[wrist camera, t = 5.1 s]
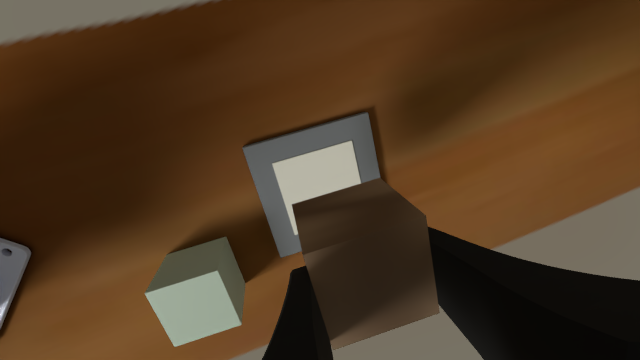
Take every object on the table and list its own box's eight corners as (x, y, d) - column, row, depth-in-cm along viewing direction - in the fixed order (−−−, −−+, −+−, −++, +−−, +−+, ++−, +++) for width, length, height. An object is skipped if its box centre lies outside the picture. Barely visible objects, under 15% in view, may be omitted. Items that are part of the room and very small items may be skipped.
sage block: (190, 300, 21) (174, 346, 17) (167, 253, 20) (144, 293, 16) (245, 282, 22) (241, 324, 18) (226, 235, 20) (217, 270, 16)
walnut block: (315, 279, 14) (333, 350, 10) (291, 204, 13) (302, 254, 9) (394, 253, 14) (439, 313, 11) (379, 177, 13) (425, 215, 9)
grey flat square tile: (280, 253, 21) (280, 258, 20) (243, 146, 18) (242, 148, 18) (385, 219, 22) (389, 223, 21) (364, 111, 19) (368, 112, 18)
